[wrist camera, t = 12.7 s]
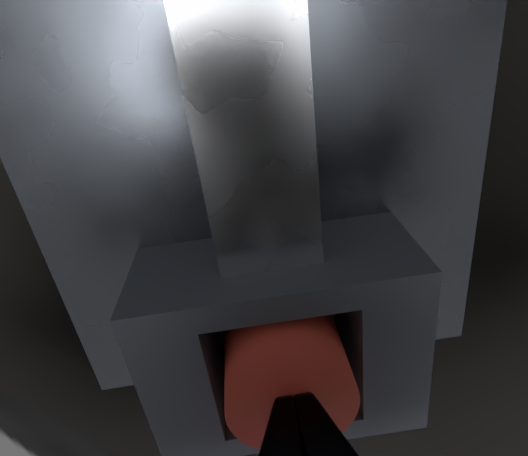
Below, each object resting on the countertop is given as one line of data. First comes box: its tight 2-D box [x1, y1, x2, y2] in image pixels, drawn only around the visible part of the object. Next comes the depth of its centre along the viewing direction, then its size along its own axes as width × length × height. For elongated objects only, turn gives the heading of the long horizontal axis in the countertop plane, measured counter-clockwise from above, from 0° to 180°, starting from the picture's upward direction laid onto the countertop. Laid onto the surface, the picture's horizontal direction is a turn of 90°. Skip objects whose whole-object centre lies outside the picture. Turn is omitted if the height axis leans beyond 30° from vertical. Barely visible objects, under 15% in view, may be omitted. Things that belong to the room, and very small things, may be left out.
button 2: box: [224, 315, 360, 450], centre depth 10 cm, size 3×3×3 cm
